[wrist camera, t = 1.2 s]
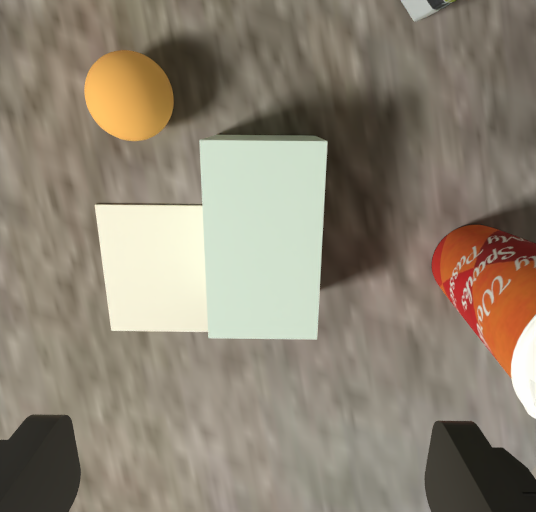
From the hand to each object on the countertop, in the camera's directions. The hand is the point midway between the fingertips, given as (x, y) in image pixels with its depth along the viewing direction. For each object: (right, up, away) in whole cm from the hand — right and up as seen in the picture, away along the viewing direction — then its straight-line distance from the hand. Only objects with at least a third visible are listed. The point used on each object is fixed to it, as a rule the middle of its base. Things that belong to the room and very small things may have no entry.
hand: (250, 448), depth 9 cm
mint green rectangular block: (0, +7, +20) cm, 21 cm away
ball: (-8, +14, +15) cm, 22 cm away
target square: (-8, +3, +21) cm, 23 cm away
